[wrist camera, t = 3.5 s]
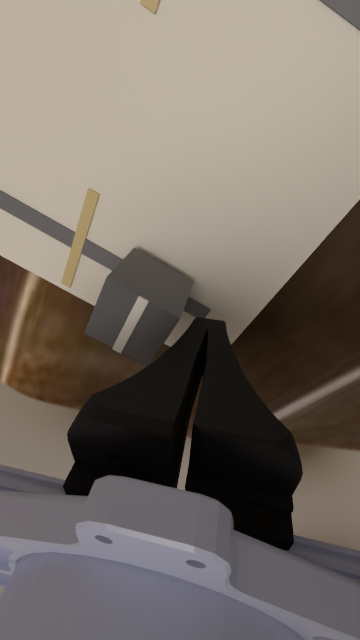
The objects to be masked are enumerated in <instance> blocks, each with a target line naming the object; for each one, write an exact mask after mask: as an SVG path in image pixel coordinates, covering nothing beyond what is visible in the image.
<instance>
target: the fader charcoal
mask: <svg viewBox="0 0 360 640" xmlns="http://www.w3.org/2000/svg"><path fill="white" fill-rule="evenodd" d="M193 282H194V281H192V280H190V279H188V278H187V277H185V276H183V275H182V274H180V273H178V272H176V271H175V270H173V269H171V268H169V267H168V266H166V265H164V264H162V263H161V262H159V261H157V260H155V259H154V258H152V257H150V256H148V255H147V254H145V253H143V252H141V251H140V250H138V249H136V248H133V249H132V250H131V252H130V253H129V254H128V255H127V256H126V257H125V258H124V259H123V260H122V261H121V262H120V263H119V264H118V265H117V266H116V268H115V269H114V270H113V271H112V272H111V273H110V274H109V275H108V276H107V277H106V279H105V282H104V284H103V287H102V290H101V292H100V295H99V297H98V300H97V302H96V305H95V307H94V310H93V312H92V315H91V317H90V320H89V322H88V325H87V327H86V330H85V332H84V333H85V334H87V335H89V336H91V337H93V338H95V339H97V340H98V341H100V342H102V343H104V344H106V345H108V346H110V347H112V349H113V350H115V351H117V352H119V353H123V354H125V355H127V356H129V357H131V358H133V359H135V360H137V361H139V362H141V363H142V364H144V365H146V366H149V365H150V364H151V362H152V361H153V359H154V358H155V356H156V355H157V353H158V352H159V350H160V349H161V347H162V346H163V344H164V343H165V341H166V340H167V338H168V337H169V335H170V334H171V332H172V331H173V329H174V328H175V326H176V325H177V323H178V322H179V320H180V319H181V316H182V313H183V310H184V307H185V305H186V302H187V299H188V296H189V294H190V291H191V288H192V285H193Z"/></svg>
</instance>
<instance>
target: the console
mask: <svg viewBox="0 0 360 640" xmlns="http://www.w3.org/2000/svg"><path fill="white" fill-rule="evenodd" d="M359 199H360V0H0V255H1V256H3V257H4V258H6V259H8V260H10V261H12V262H14V263H16V264H17V265H19V266H21V267H23V268H25V269H27V270H29V271H30V272H32V273H34V274H36V275H38V276H40V277H42V278H43V279H45V280H47V281H49V282H51V283H53V284H55V285H57V286H58V287H60V288H62V289H64V290H66V291H68V292H70V293H71V294H73V295H75V296H77V297H79V298H81V299H83V300H84V301H86V302H88V303H90V304H92V305H94V306H95V305H96V302H97V300H98V297H99V295H100V292H101V290H102V287H103V284H104V282H105V279H106V277H107V276H108V275H109V274H110V273H111V272H112V271H113V270H114V269H115V268H116V266H117V265H118V264H119V263H120V262H121V261H122V260H123V259H124V258H125V257H126V256H127V255H128V254H129V253H130V252H131V250H132V249H133V248H136V249H138V250H140V251H141V252H143V253H145V254H147V255H148V256H150V257H152V258H154V259H155V260H157V261H159V262H161V263H162V264H164V265H166V266H168V267H169V268H171V269H173V270H175V271H176V272H178V273H180V274H182V275H183V276H185V277H187V278H188V279H190V280H192V281H194V282H193V285H192V288H191V291H190V294H189V296H188V299H187V302H186V305H185V307H184V310H183V313H182V316H181V319H180V320H179V322H178V323H177V325H176V326H175V328H174V329H173V331H172V332H171V334H170V335H169V337H168V338H167V340H166V341H165V343H164V344H166V345H168V346H170V347H171V346H172V345H173V344H174V343H175V342H176V341H177V340H178V339H179V338H180V337H181V336H182V335H183V333H184V332H185V331H186V330H187V329H188V327H189V326H190V325H191V323H192V322H193V320H194V319H195V318H196V317H201V318H208V319H215V320H222V321H225V323H226V329H227V334H228V337H229V341H230V344H232V343H233V342H234V341H235V340H236V339H237V338H238V336H239V335H240V334H241V333H242V332H243V331H244V330H245V328H246V327H247V326H248V325H249V324H250V323H251V322H252V321H253V319H254V318H255V317H256V316H257V315H258V314H259V313H260V311H261V310H262V309H263V308H264V307H265V306H266V305H267V304H268V302H269V301H270V300H271V299H272V298H273V297H274V296H275V295H276V293H277V292H278V291H279V290H280V289H281V288H282V287H283V285H284V284H285V283H286V282H287V281H288V280H289V279H290V278H291V276H292V275H293V274H294V273H295V272H296V271H297V270H298V268H299V267H300V266H301V265H302V264H303V263H304V262H305V261H306V259H307V258H308V257H309V256H310V255H311V254H312V253H313V251H314V250H315V249H316V248H317V247H318V246H319V245H320V244H321V242H322V241H323V240H324V239H325V238H326V237H327V236H328V235H329V233H330V232H331V231H332V230H333V229H334V228H335V227H336V225H337V224H338V223H339V222H340V221H341V220H342V219H343V218H344V216H345V215H346V214H347V213H348V212H349V211H350V210H351V208H352V207H353V206H354V205H355V204H356V203H357V202H358V201H359Z"/></svg>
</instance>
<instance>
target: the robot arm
mask: <svg viewBox="0 0 360 640" xmlns="http://www.w3.org/2000/svg"><path fill="white" fill-rule="evenodd" d="M202 374H203V380H202V387H201V391H200V396H199V400H198V405H197V409H196V413H195V418H194V422H193V430H192V439H191V449H190V459H189V467H188V473H187V478H186V484H185V490H180V489H177V484H178V478H179V472H180V467H181V462H182V456H183V451H184V445H185V440H186V435H187V430H188V424H189V420H190V416H191V412H192V408H193V405H194V401H195V398H196V395H197V391H198V388H199V384H200V381H201V378H202ZM67 436H68V442H69V445H70V448H71V451H72V454H73V457H74V460H75V463H74V465H73V467H72V469H71V471H70V473H69V475H68V477H67V478H66V480H63V479H58V478H54V477H50V476H46V475H42V474H38V473H33V472H29V471H25V470H21V469H16V468H13V467H9V466H4V465H0V586H2V587H4V590H3V592H2V594H1V596H0V640H360V551H358V550H354V549H350V548H346V547H342V546H337V545H333V544H329V543H325V542H321V541H317V540H313V539H308V538H304V537H300V536H296V535H293V526H292V517H291V513H292V512H293V499H292V494H293V493H294V491H295V489H296V488H297V486H298V484H299V482H300V480H301V478H302V473H303V472H302V465H301V460H300V456H299V452H298V449H297V446H296V443H295V440H294V437H293V435H292V433H291V432H290V431H289V430H288V429H287V428H286V427H285V426H284V425H283V424H282V423H281V422H280V421H279V420H278V419H277V418H276V417H275V416H274V415H273V414H272V412H271V411H270V410H269V409H268V408H267V407H266V405H265V404H264V403H263V401H262V400H261V399H260V397H259V396H258V395H257V393H256V392H255V391H254V389H253V388H252V386H251V385H250V383H249V382H248V380H247V378H246V377H245V375H244V373H243V371H242V369H241V367H240V365H239V363H238V361H237V359H236V357H235V354H234V352H233V349H232V347H231V344H230V341H229V337H228V334H227V329H226V323H225V321H222V320H215V319H208V318H201V317H196V318H195V319H194V320H193V322H192V323H191V325H190V326H189V327H188V329H187V330H186V331H185V332H184V333H183V335H182V336H181V337H180V338H179V339H178V340H177V341H176V342H175V343H174V344H173V345H172V346H171V347H170V348H169V349H168V350H167V351H166V352H165V353H164V354H163V355H161V356H160V357H159V358H158V359H157V360H155V361H154V362H153V363H151V364H150V365H149V366H147V367H146V368H144V369H143V370H141V371H140V372H138V373H137V374H135V375H133V376H132V377H130V378H128V379H126V380H124V381H122V382H121V383H119V384H116V385H114V386H112V387H110V388H107V389H105V390H103V391H100V392H98V393H95V394H93V395H91V397H90V398H89V399H88V401H87V402H86V403H85V404H84V406H83V407H82V409H81V410H80V411H79V413H78V415H77V417H76V418H75V420H74V422H73V423H72V425H71V427H70V428H69V431H68V434H67Z"/></svg>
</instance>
